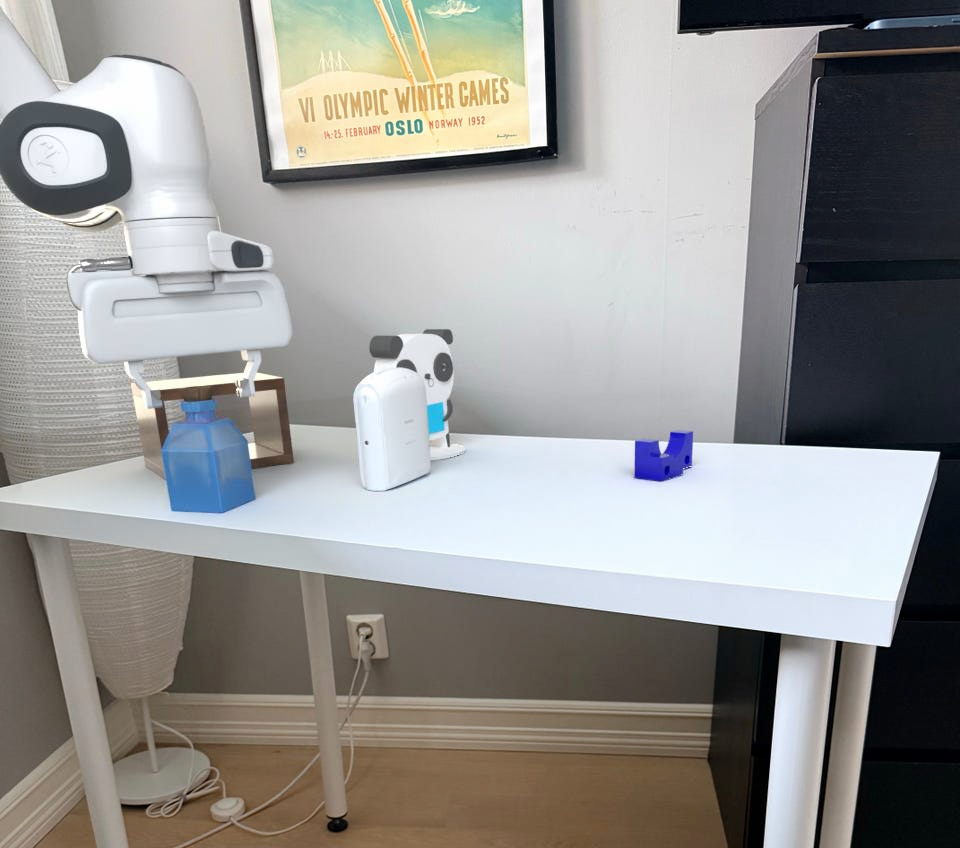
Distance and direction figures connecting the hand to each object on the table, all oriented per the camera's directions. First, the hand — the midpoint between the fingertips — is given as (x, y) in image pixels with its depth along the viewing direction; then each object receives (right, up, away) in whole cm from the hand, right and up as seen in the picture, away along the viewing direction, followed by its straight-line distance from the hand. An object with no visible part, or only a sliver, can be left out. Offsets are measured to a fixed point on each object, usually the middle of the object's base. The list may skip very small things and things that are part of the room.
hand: (201, 402), depth 94 cm
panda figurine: (+21, 0, +26) cm, 33 cm away
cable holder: (+49, -6, +8) cm, 50 cm away
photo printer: (+19, -6, +10) cm, 23 cm away
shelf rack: (-5, -1, +25) cm, 26 cm away
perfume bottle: (0, -10, +4) cm, 11 cm away
